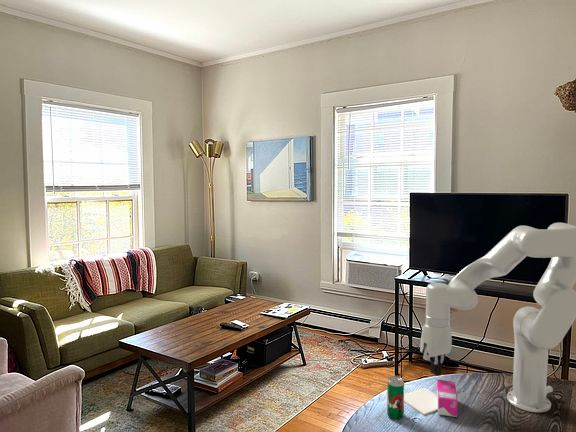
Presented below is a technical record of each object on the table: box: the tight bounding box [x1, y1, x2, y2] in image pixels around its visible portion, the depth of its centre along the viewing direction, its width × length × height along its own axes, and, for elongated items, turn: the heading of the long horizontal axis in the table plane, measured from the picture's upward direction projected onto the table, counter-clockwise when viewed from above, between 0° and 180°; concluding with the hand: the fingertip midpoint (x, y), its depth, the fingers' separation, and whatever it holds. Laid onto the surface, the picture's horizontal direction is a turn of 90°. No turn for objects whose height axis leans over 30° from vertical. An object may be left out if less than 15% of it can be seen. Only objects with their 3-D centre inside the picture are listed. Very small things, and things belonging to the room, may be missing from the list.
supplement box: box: [436, 379, 459, 418], centre depth 142 cm, size 6×6×12 cm
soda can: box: [386, 375, 405, 421], centre depth 138 cm, size 5×5×12 cm
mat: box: [404, 387, 438, 416], centre depth 146 cm, size 12×12×1 cm
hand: (435, 373), depth 148 cm, fingers closed
